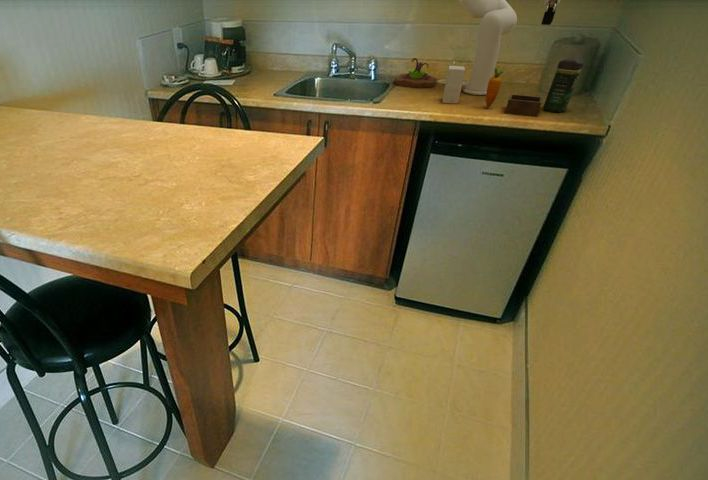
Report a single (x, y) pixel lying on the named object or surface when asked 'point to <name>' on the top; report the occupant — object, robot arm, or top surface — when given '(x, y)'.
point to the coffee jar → (563, 84)
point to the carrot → (493, 87)
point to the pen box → (523, 105)
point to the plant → (415, 77)
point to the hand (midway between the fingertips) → (546, 23)
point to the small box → (453, 84)
